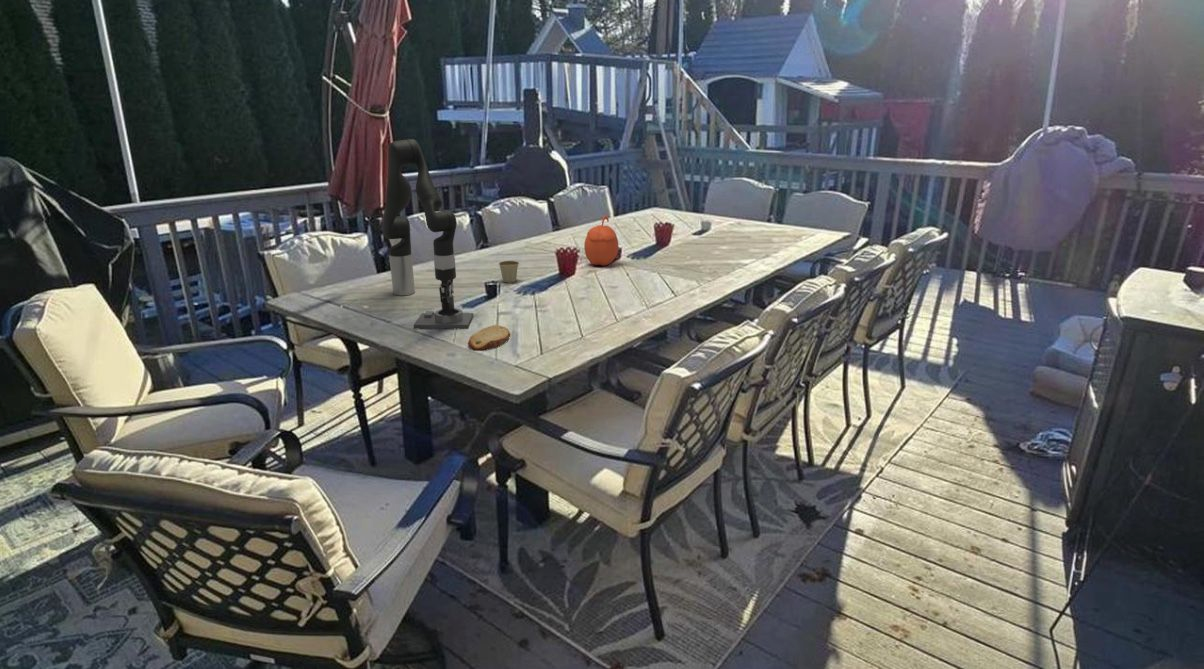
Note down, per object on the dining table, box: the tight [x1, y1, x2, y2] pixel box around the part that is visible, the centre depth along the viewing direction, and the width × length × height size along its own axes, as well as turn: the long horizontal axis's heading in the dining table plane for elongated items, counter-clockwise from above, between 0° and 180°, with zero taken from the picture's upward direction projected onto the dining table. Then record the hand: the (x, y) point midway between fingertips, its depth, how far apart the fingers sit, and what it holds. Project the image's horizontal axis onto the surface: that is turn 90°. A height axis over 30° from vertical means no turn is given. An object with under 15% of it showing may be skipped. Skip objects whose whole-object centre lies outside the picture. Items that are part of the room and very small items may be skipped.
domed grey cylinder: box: [440, 294, 455, 313], centre depth 245 cm, size 6×5×6 cm
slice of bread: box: [467, 324, 511, 352], centre depth 232 cm, size 18×18×4 cm
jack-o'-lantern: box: [584, 215, 619, 267], centre depth 330 cm, size 18×17×25 cm
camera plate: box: [413, 310, 475, 330], centre depth 248 cm, size 14×20×3 cm
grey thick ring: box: [434, 307, 464, 324], centre depth 247 cm, size 10×10×3 cm
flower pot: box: [498, 260, 520, 284], centre depth 302 cm, size 9×9×9 cm
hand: (448, 308), depth 246 cm, fingers closed on domed grey cylinder, 6 cm apart
